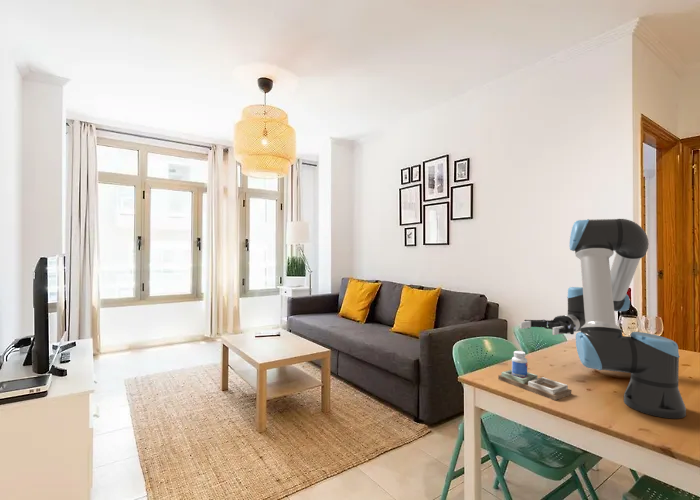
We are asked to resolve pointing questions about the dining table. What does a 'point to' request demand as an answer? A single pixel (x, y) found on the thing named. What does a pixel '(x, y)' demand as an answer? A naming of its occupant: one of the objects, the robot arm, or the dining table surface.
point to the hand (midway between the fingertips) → (536, 328)
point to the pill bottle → (519, 364)
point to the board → (537, 385)
